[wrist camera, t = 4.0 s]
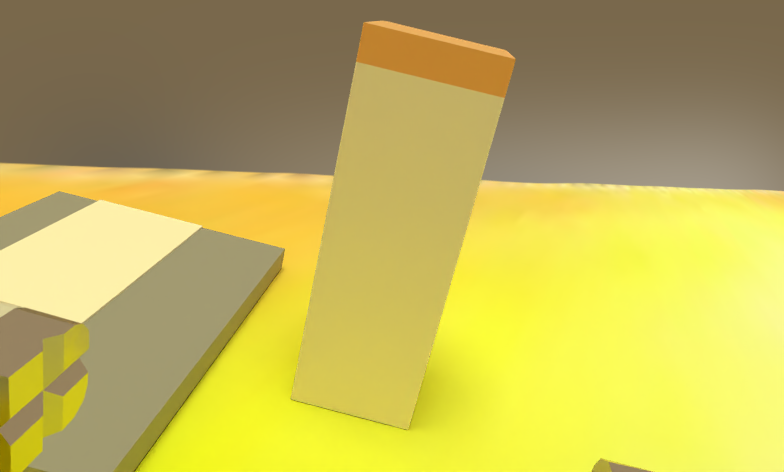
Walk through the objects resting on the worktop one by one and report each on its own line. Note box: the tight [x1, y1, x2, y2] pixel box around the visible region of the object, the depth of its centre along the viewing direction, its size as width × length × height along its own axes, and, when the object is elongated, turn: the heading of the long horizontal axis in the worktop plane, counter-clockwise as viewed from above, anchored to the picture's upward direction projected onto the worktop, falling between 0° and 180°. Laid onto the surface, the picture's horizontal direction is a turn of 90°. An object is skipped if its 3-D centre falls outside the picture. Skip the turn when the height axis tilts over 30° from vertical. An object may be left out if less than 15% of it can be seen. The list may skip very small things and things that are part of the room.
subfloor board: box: [0, 191, 285, 472], centre depth 21 cm, size 11×15×1 cm
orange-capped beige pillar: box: [291, 21, 516, 430], centre depth 19 cm, size 4×4×12 cm
